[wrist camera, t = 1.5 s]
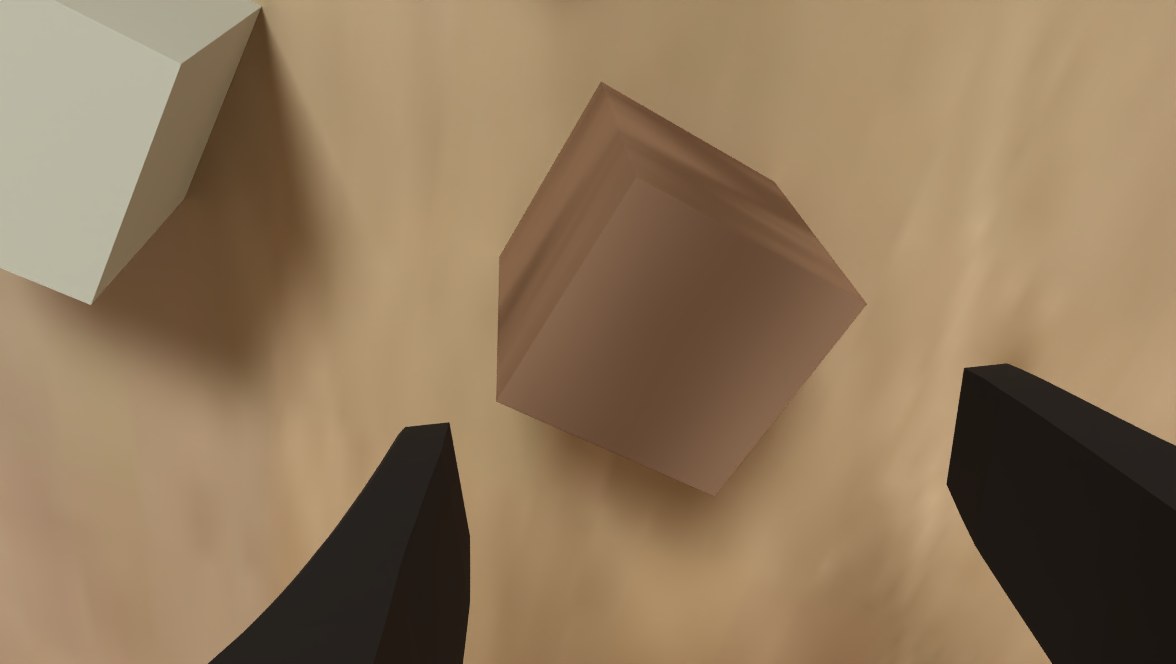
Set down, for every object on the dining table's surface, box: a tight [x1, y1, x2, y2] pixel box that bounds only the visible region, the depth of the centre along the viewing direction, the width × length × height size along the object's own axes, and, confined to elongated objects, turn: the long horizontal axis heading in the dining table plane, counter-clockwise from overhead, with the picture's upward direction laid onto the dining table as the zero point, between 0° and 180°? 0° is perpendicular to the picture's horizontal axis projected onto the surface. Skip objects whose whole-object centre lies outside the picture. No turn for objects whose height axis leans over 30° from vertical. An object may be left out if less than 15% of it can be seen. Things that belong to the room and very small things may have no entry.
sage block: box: [0, 0, 262, 305], centre depth 16 cm, size 4×4×5 cm
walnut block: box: [496, 82, 867, 496], centre depth 18 cm, size 4×4×6 cm
